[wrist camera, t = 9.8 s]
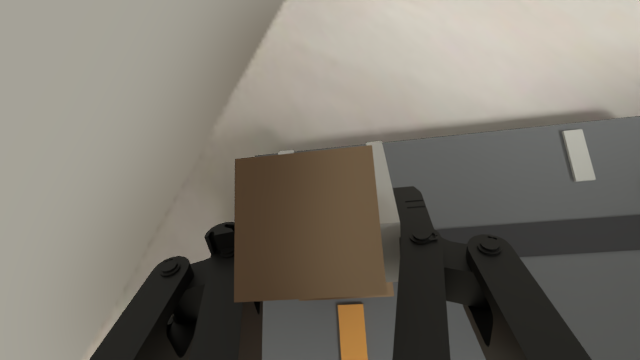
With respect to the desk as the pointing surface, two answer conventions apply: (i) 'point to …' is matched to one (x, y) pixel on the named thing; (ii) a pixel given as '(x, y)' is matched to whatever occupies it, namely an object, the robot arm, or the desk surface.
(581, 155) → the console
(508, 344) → the robot arm
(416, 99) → the desk surface
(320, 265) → the fader
